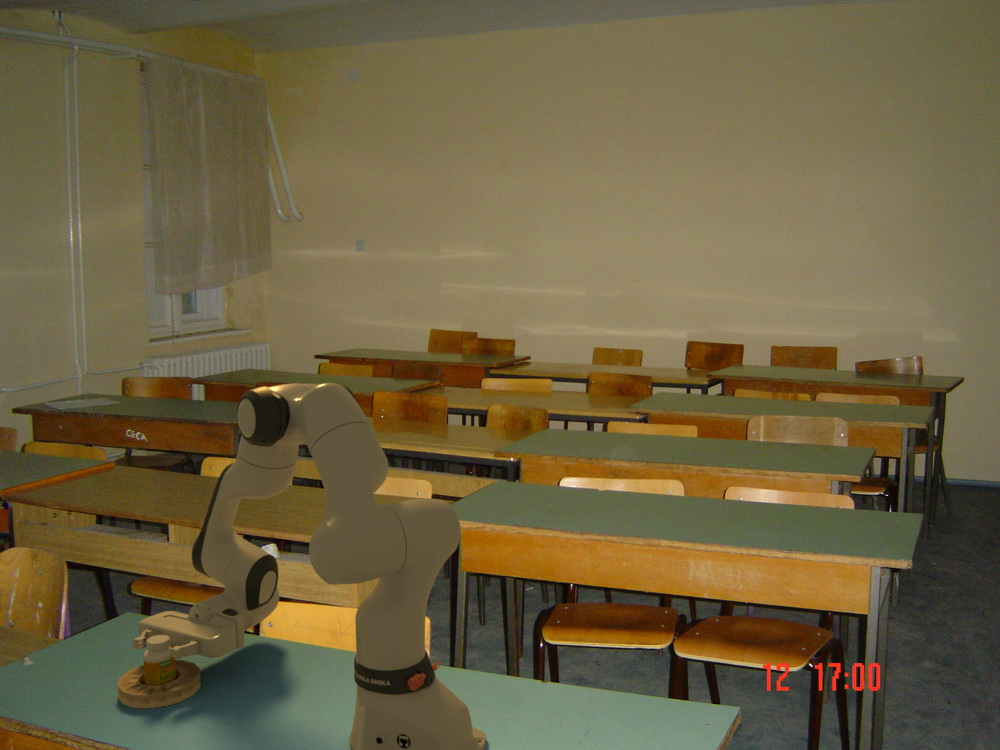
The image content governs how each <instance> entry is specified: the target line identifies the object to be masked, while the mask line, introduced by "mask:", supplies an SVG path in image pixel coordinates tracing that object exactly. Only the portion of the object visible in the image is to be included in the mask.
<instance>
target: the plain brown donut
mask: <svg viewBox="0 0 1000 750" xmlns="http://www.w3.org/2000/svg"><path fill="white" fill-rule="evenodd" d="M175 665H176V680H174V681H172V682H171V683H167V684H164V685H158V686H145V675H144V664H142V665H139V666H136V667H134V668H132V669H130V670H129V671H126V672H125V673H124V674H123V675H122V676H121V677H119V679H118V682H117V696H118V700H119V701H120V703H121V704H122V705H123V706H127V707H130V708H132V709H146V710H147V708H149V709H148V710H151V709H157V708H156V707H158V708H163V707H162V706H165V707H169V706H171V705H175V704H178V703H181V702H184V701H185V700H186V699H188V698H191V697H192V696H194V695H195V694H196V693H197V692H198V691H199V690H200V689H201V682H200V680H201V668H200V666H198V665H197V664H196V663H194V662H191V661H187V660H184V659H175ZM198 689H199V690H198ZM197 690H198V691H197ZM196 691H197V692H196ZM195 692H196V693H195ZM194 693H195V694H194ZM168 705H169V706H168ZM150 708H151V709H150Z"/></svg>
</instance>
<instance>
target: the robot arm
mask: <svg viewBox="0 0 1000 750" xmlns="http://www.w3.org/2000/svg"><path fill="white" fill-rule="evenodd" d="M236 424H237V428H238V431H239V434H240V436H241V437H240V440H239V445H238V448H237V449H238V450H237V451H238V452H237V455H236V459H235V461H234V462H231V463H230V464H228V465H226V466H225V467H224V469H223V470H222V471H221V473H220V475H219V478H218V480H217V481H216V485H215V487H214V490H213V493H212V496H211V499H210V501H209V502H210V503H209V505H208V508H207V511H206V514H205V518H204V522H203V524H202V526H201V527H202V528H201V530H200V531H199V533H198V535H197V537H196V538H195V541H194V543H193V545H192V548H191V562H192V566H193V569H194V570H195V571H197V572H198V573H199V574H202V575H204V576H206V577H208V578H210V579H213V580H214V581H216V582H218V583H220V584H221V585H223V586H224V590H223V592H222V593H220V594H216V595H213V596H210V597H209V598H206V599H204V600H202V601H200V602H198V603H195V604H194V605H193V606H192V607H190V609H189V611H188V613H183V612H179V611H175V610H174V611H173V610H166V611H163V612H157V613H155V614H153V615H150V616H148V617H144V618H143V619H141V620H140V621H139V622H138V625H137V626H138V629H137V631H138V637H136V638H134V639H133V640H132V648H134V649H136V650H143V649H144V648H147V642H146V641H147V639H148V638H150V637H152V636H156V635H167V636H169V637H170V647H172V648H171V649H170V657H171V658H174V659H175V660H180V659H181V658H183V657H189V656H196V655H197V656H198V655H199V656H203V657H206V658H211V659H213V658H220V657H223V656H225V655H227V654H229V653H231V652H233V651H235V649H236V650H237V649H240V648H242V647H244V646H245V639H246V638H245V631H247V630H248V629H251V628H253V627H255V626H257V625H258V624H260V623H261V622H263V621H264V620H266V619H267V618H268V617H269V616H270V615H271V614H273V612H274V611H275V610H276V609H277V607H278V605H279V603H280V602H279V601H280V592H279V588H278V582H279V565H278V562H277V559H276V557H275V556H274V555H272V554H271V553H269V552H267V551H266V550H264V549H262V548H261V547H259V546H257V545H255V544H254V543H251V542H250V541H249V540H246V539H245V538H244V537H241V536H240V535H239V534H238V533H237V532H236V531H235V529H234V526H233V524H234V521H235V518H236V514H237V512H238V509H239V507H240V503H241V500H242V499H248V500H249V499H250V500H263V499H264V500H265V499H268V498H272V497H276V496H277V495H279V494H281V493H283V492H284V491H286V489H287V488H288V487H289V486H290V485H291V483H292V482H293V478H294V475H295V473H296V469H297V468H296V467H297V461H298V456H299V447H300V446H304V445H305V446H307V448H308V451H309V454H310V455H311V458H312V460H313V462H314V465H315V467H316V470H317V472H318V475H319V477H320V480H321V482H322V486H323V488H324V492H325V493H324V494H325V500H326V501H325V503H326V505H325V511H324V513H323V517H322V518H321V520H320V522H319V523H318V524H317V526H315V529H314V531H313V533H312V535H311V537H310V540H309V545H308V546H309V547H308V549H309V550H308V554H309V559H310V563H311V565H312V568H313V569H314V572H315V573H316V574H317V576H318V577H319V578H320V579H321V580H322V581H324V582H325V583H327V584H328V585H331V586H332V585H338V586H339V585H355V584H356V585H357V584H358V585H359V584H362V583H367V582H370V581H374V580H378V581H377V583H376V585H375V587H374V589H372V591H371V592H370V593H369V594H368V595H367V596H366V597H365V598H364V599H363V600H362V601H361V602H360V604H359V605H358V608H357V610H356V613H355V618H354V619H355V620H354V621H355V622H354V623H355V624H354V625H355V647H356V649H355V650H356V652H355V653H356V654H355V656H354V659H353V662H354V663H353V670H354V671H353V675H354V682H355V683H356V693H355V694H356V698H355V709H354V717H353V723H352V727H351V732H350V736H349V739H348V743H349V747H350V748H351V750H485V749H486V746H487V735H486V733H485V732H484V731H482V730H480V729H478V728H476V727H473V723H472V719H471V718H472V717H471V713H470V710H469V708H468V706H467V705H466V703H465V702H464V701H462V700H461V698H459V697H458V696H457V695H456V694H455V693H453V691H451V690H450V688H448V687H447V685H445V684H444V683H443V682H442V681H441V680H440V679H438V677H436V673H435V672H436V671H437V670H438V669H439V668H440V667H441V666H440V662H441V661H440V660H437V661H435V662H434V663H433V664H432V662H431V659H430V656H429V654H428V652H427V650H426V611H427V606H428V600H429V598H430V594H431V591H432V588H433V587H434V583H435V581H436V579H437V577H438V574H439V573H440V571H441V569H442V567H443V566H444V564H445V563H446V561H447V560H448V559H449V558H450V557H451V556H452V555H453V554H454V553H455V552H456V550H457V548H458V546H459V543H460V540H461V536H462V535H461V532H462V531H461V530H462V528H461V522H460V518H459V516H458V515H457V513H456V511H455V509H454V508H453V507H452V506H451V505H450V504H449V503H448V502H447V501H446V500H443V499H439V498H413V499H407V500H404V501H403V500H402V501H399V502H394V503H390V504H389V503H388V504H383V505H380V504H379V503H378V502H377V500H376V499H375V496H374V494H375V493H376V492H377V491H378V490H379V489H380V488H381V487H382V486H383V484H384V483H385V481H386V479H387V477H388V474H389V460H388V457H387V456H386V454H385V452H384V450H383V448H382V445H381V443H380V441H379V439H378V437H377V436H376V435H377V434H376V433H375V431H374V429H373V427H372V425H371V423H370V422H369V419H368V418H367V416H366V414H365V412H364V411H363V409H362V408H361V406H360V405H359V403H358V401H357V398H356V397H355V394H354V393H353V392H352V390H351V389H350V388H349V387H347V386H346V385H342V384H339V383H335V382H325V383H299V382H294V383H284V384H278V385H272V386H265V385H263V386H259V387H255V388H252V389H249V390H247V391H245V392H244V393H243V394H242V395H241V398H240V400H239V401H238V404H237V408H236Z"/></svg>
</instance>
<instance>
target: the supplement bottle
mask: <svg viewBox="0 0 1000 750" xmlns="http://www.w3.org/2000/svg"><path fill="white" fill-rule="evenodd" d="M146 642H147V643H146V648H147V650H146V651H145V652H144V654H143V665H144V675H145V686H158V685H164V684H167V683H171V682H172V681H174V680H176V665H175V660H176V659H174V658H171V657H170V649H171V648H172V647H170V637H169V636H167V635H156V636H152V637H150V638H148V639H147V641H146Z"/></svg>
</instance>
